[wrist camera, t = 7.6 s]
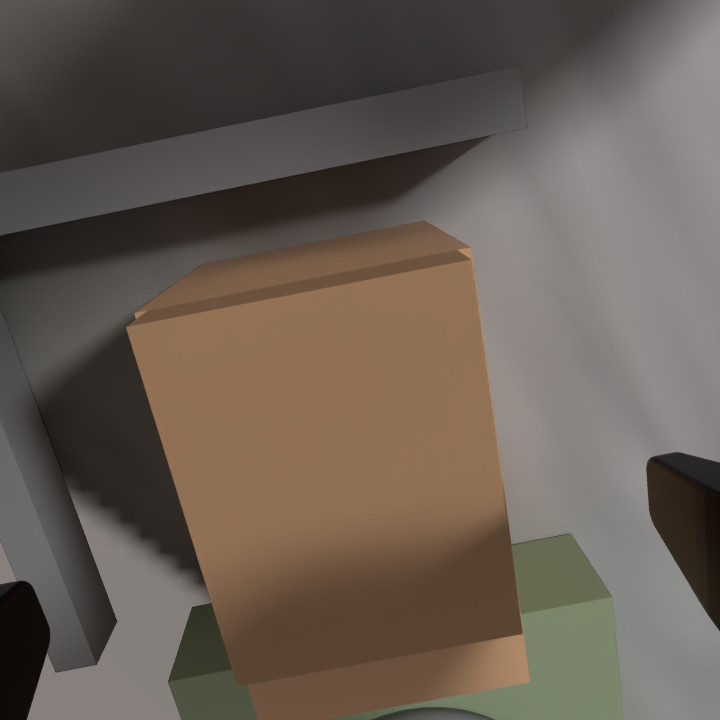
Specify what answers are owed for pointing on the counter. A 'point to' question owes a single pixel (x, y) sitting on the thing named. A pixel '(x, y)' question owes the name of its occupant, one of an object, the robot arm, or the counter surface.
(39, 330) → the counter surface
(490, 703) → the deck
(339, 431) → the brown cardboard carton
